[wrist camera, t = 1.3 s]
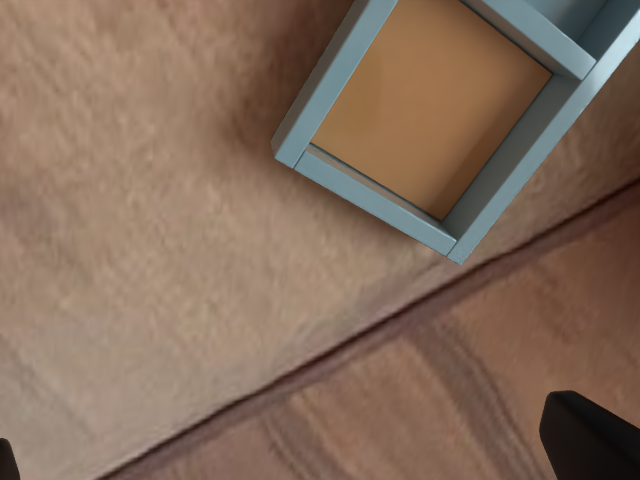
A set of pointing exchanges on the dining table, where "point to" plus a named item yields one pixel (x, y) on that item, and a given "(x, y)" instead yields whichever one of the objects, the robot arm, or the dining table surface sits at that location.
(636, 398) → the dining table surface
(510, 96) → the holder
